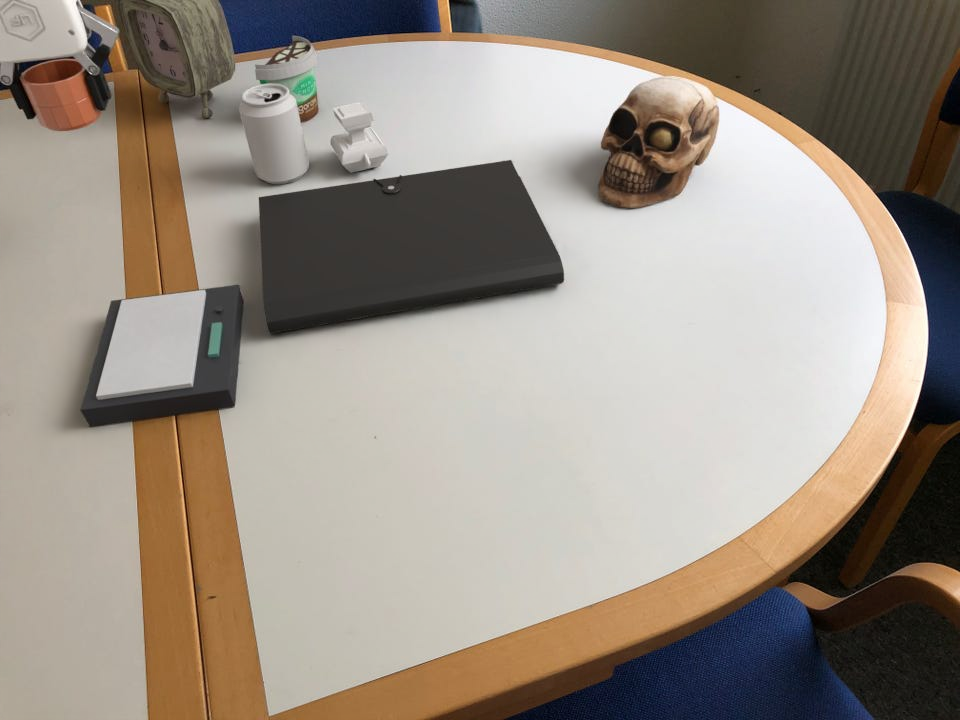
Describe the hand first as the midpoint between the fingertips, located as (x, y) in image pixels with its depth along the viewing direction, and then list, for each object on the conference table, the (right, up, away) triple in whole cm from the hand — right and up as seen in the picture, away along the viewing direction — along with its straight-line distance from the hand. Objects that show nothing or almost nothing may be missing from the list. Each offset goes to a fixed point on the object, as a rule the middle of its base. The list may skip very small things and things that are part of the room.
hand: (68, 108), depth 89 cm
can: (+18, -2, +23) cm, 30 cm away
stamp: (+29, 0, +24) cm, 38 cm away
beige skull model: (+70, -3, +19) cm, 72 cm away
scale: (+14, -28, -5) cm, 32 cm away
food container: (+18, +11, +37) cm, 42 cm away
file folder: (+37, -15, +8) cm, 41 cm away
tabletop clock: (0, +14, +41) cm, 43 cm away
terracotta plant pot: (0, -1, +1) cm, 1 cm away
